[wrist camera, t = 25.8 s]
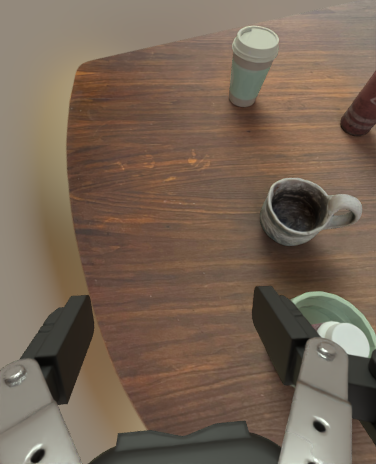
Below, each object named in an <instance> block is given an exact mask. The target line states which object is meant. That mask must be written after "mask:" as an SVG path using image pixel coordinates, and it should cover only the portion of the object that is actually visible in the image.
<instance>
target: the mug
mask: <svg viewBox="0 0 376 464" xmlns="http://www.w3.org/2000/svg"><path fill="white" fill-rule="evenodd" d="M341 209H346V210H349V211H351V212H349V213H347V214H344V215H340V216H334V215H333V214H334V213H336V212H337V211H338V210H341ZM361 213H362V205H361V203H360V201H359V200H358V199H356V198H355V197H353V196H350V195H345V194H338V195H331V196H329V195H327V194H326V192H325V191H324V190H323V189H322V188H321V187H320V186H318V185H316V184H315V183H313V182H311V181H308V180H303V179H300V178H284V179H282V180H279V181H277V182H275V183H274V184H273V185H272V186H271V187H270V190H269V192H268V195H267V198H266V200H265V202H264V204H263V206H262V209H261V212H260V223H261V225H262V228H263V230H264V231H265V232H266V234H267V235H268V236H269V237H270V238H272V239H273V240H274V241H276V242H277V243H279V244H281V245H285V246H295V245H299V244H303V243H306V242H307V241H309V240H310V239H312V238H313V237H314V236H315V235H316V234H318V233H319V231H321V230H323V229H332V228H340V227H345V226H349V225H352V224H354V223H356V222H357V221H358V220H359V218H360V216H361Z"/></svg>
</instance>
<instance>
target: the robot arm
mask: <svg viewBox="0 0 376 464" xmlns="http://www.w3.org/2000/svg"><path fill="white" fill-rule="evenodd" d="M252 319H253V323H254V326H255V328H256V330H257V332H258V334H259V336H260V338H261V340H262V342H263V344H264V346H265V348H266V350H267V352H268V354H269V356H270V358H271V360H272V362H273V364H274V366H275V369H276V371H277V373H278V375H279V377H280V379H281V381H282V383H283V385H294V386H295V387H296V388H295V392H294V396H293V401H292V405H291V409H290V414H289V418H288V422H287V427H286V431H285V435H284V440H283V444H282V448H281V447H280V446H278V445H277V444H276V443H274V442H272V441H271V440H269V439H267V438H265V437H263V436H260V435H257V434H254V433H250V432H249V431H248V427H247V424H246V421H236V422H226V423H217V424H213V425H211V426H208V427H206V428H203V429H201V430H199V431H196V432H194V433H191V434H189V435H186V436H178V435H173V434H168V433H163V432H157V431H152V430H147V431H137V432H128V433H118V438H117V443H116V446H115V447H113V448H110V449H109V450H107V451H105V452H103V453H102V454H100V455H99V456H97V457H96V458H94V459H93V460H92V461H91V462H90V463H89V464H352V418H353V419H357V420H359V421H360V422H361V424H362V425H363V427H364V428H365V430H366V431H367V433H368V435H369V436H370V438H371V439H372V441H373V442H374V444H375V445H376V349H375V350H373V352H372V355H371V358H367V357H361V356H356V355H350V354H347V353H346V351H345V350H344V349H343V348H342V347H341V346H340V345H338V344H337V343H335V342H333V341H331V340H329V339H326V338H322V337H321V336H320V335H319V334H318V333H317V331H316V330H315V329H314V328H313V326H312V325H311V324H310V323H309V321H308V320H307V319H306V318H305V317H304V316H303V314H302V313H301V312H300V310H298V308H297V307H296V305H295V304H294V303H293V302H292V301H291V300H289V299H288V298H286V297H285V296H283V295H278V293H277V292H276V291H275V290H274V288H273V287H272V286H256V287H255V289H254V298H253V308H252ZM93 333H94V319H93V313H92V306H91V300H90V297H89V295H81V296H71V297H70V299H69V300H68V302H67V303H66V305H65V307H62V308H58V309H56V310H55V311H54V312H53V313H51V314H50V315H49V316H48V318H47V319H46V321H45V322H44V324H43V326H42V327H41V328H40V330H39V331H38V333H37V334H36V336H35V337H34V339H33V340H32V342H31V343H30V345H29V346H28V348H27V349H26V351H25V352H24V354H23V355H22V357H21V358H20V360H17V361H14V362H12V363H10V364H8V365H6V366H5V367H3V368H2V369H1V370H0V464H82V462H81V459H80V457H79V455H78V452H77V450H76V448H75V445H74V443H73V440H72V438H71V436H70V433H69V431H68V428H67V426H66V424H65V421H64V419H63V417H62V414H61V412H60V409H59V407H58V405H61V404H68V401H69V399H70V396H71V393H72V391H73V388H74V385H75V383H76V380H77V377H78V375H79V372H80V369H81V366H82V364H83V361H84V358H85V356H86V353H87V350H88V347H89V345H90V342H91V339H92V337H93Z"/></svg>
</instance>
